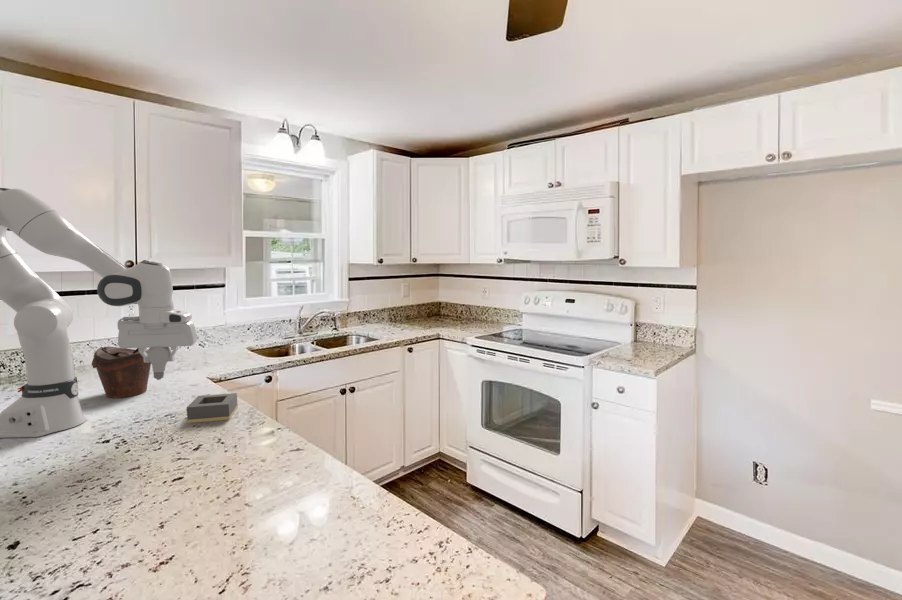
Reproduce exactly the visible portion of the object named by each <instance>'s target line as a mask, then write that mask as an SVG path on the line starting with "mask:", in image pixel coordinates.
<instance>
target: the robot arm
mask: <svg viewBox="0 0 902 600" xmlns="http://www.w3.org/2000/svg"><path fill="white" fill-rule="evenodd" d="M7 231H8V232H12V233H13V234H14V235H16V236H17V237H18V238H20V239H22V241H23V242H25V243H26V244H28V245H29V246H31V247H33V248H34V249H36V250H38V251H40V252H42V253H44V254H46V255H49V256H50V255H51V256H54V257H58V258H59V257H60V258H64V259H69V260H72V261H76V262H77V263H80V264H82V265H84V266H86V267H87V268H89V269H90V270H91V271H93V272H94V273H96V274H97V275H99V276H100V277H101V279H100V281H98V284H97V287H96V289H97V291H96V292H97V295H98V298H99V299H100V300H101V301H102V302H103V303H104V304H107V305H109V306H112V307H125V306H130V305H138V316H131V317H130V316H124V317H122V318H120V319H118V321H117V323H116V324H117V329H118V335H117V336H118V337H117V346H118V348H122V349H124V348H126V349H137V348H139V353H140V354H141V355H142V356H143V358H144V363H146V362H150V361H149V359H148V356H147V353H146V352H145V350H147V349H148V348H151V347H169V348H170V350H171V355H170V356H169V357H168V359H167V361H168V362H174V361H175V355H176V353H177V352H178V350H179V347H192V346H194V345H195V344H196V343H197V340H198V338H197V331H196V326H195V324H194V323H193V321H191V320H192V318H193V317H192V316H193V315H192V313H191V312H187V311H183V310H179V309H175V306H174V305H175V304H174V302H173V298H172V296H173V292H174V290H173V288H174V287H173V279H172V273H171V270H170V267H168V266H167V265H166V264H164V263H161V262H155V261H147V260H146V261H139V262H138V263H137V264H136V265H134V266H132V267H129V268H128V267H126V266H125V265H123V264H122V263H121V262H119V260H117V259H115V258H114V257H113V256H111V255H110V254H108V253H107V252H106V251H105V250H103V249H102V248H100V247H99V246H97V245H96V244H95V243H93V241H91V240H90V239H89V238H88V237H87V236H85V235H84V234H83V233H82V232H80V230H79V229H78V228H77V227H75V226H74V224H72V223H71V222H70V221H69V220H67V219H66V218H65V217H64V216H63V215H61V214H60V213H59V212H58V211H56V210H55V209H54V208H53V207H52V206H50V205H49V204H47V203H46V202H44V201H43V200H41V199H40V198H38V197H36V196H35V195H34V194H32V193H30V192H28V191H26V190H23V189H20V188H8V187H7V188H6V187H0V301H3V303H5V304H6V305H7V306H8V307H10V308H11V309H12V310H13V311H15V313H16V314H15V316H14V318H13V327H14V329H15V330H16V333H17V337H18V341H19V344H20V348H21V352H22V353H23V357H24V364H25V372H26V381H27V383H26V384H24V385H22V386H20V387H19V388H17V389H16V390H18V391H17V393H20V392H21V397H18V399H16V400H15V401H13V402H12V403H11V404H9V406H7V407H6V408H5V409H3V410H1V412H0V438H3V439H4V438H7V439H8V438H10V439H11V438H36V437H37V438H39V437H42V436H45V435H46V436H47V435H49V434H52V433H56V432H61V431H64V430H68V429H73V428H74V427H77V426H80V425H82V424H84V423H85V422H86V420H87V417H85V414H84V413H83V410H82V406H81V403H80V399H79V383H78V378H77V376H76V374H75V373H76V372H75V370H76V369H75V362H74V352H73V350H72V348H71V347H72V346H71V344H70V338H69V333H68V330H67V329H68V327H69V326H70V325H72V322H73V319H74V311H73V308H72V307H71V305H70V304H68V303H67V302H66V301H65V300H64V299H63V297H61V296H60V295H59V294H58V292H56V291H55V290H54V289H53V288H52V287H51V286H50V285H49V284H47V282H45V281H44V280H43V279H42V278H41V276H39V275H38V274H37V273H36V272H35V271H34V270H33V268H32V267H31V266H30V265H29V263H27V261H26V260H25V259H24V258H23V257H22V255H21V254H20V253H19V252H18V251H17V250H16V249H15V248H14V247H13V245H11V243H10V242H9V241H8V240H7V237H6V232H7ZM168 362H167V363H168Z"/></svg>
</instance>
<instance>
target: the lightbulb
mask: <svg viewBox="0 0 902 600" xmlns="http://www.w3.org/2000/svg"><path fill="white" fill-rule="evenodd" d="M171 353H172V350H171V347H151V348H149V349H148V352H147V356H148V359H149V361H150V362H151V368H152V372H153V379H155V380H158V381H159V380H161V379H163V378H164V376H165V370H166V366H167V363H168V361H167V359H168V357H169V356H170V355H171Z"/></svg>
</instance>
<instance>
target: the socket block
mask: <svg viewBox="0 0 902 600" xmlns="http://www.w3.org/2000/svg"><path fill="white" fill-rule="evenodd" d="M238 406H239V405H238V393H237V392H231V393H220V394H205V395H197V396H196V397H195V398H194V399H193V400H192V401H191V402H190V403H189V404H188V405H187V406H186V415H187V417H186V418H187V424H193V423H201V422H202V423H203V422H214V421H215V422H216V421H217V422H218V421H227V420H230V419H232V417H233V415H234V414H235V412H236V411H237V410H238Z"/></svg>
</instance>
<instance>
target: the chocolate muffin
mask: <svg viewBox="0 0 902 600" xmlns="http://www.w3.org/2000/svg"><path fill="white" fill-rule="evenodd" d="M148 350H149V349H148V348H147V350H145V352H146V353H147V352H148ZM91 366H92V368H93V369H96V371H97V374H98V377H99V380H100V382H101V385H102V387H103V391H104V393H105V396H106V397H107V398H112V399H119V398H120V399H121V398H129V397H132V396H138V395H142V394H143V393H146V392H147V390H148V382H149V377H150V372H151V367H152V364H151V362H146V363H144V358H143V356H142V355H141V354H140V353H139V348H135V349H134V348H124V349H122V348H120V347H117V346H102V347H99V348H97V350H96V351H95V352H94V354H93V359H92V362H91Z"/></svg>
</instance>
